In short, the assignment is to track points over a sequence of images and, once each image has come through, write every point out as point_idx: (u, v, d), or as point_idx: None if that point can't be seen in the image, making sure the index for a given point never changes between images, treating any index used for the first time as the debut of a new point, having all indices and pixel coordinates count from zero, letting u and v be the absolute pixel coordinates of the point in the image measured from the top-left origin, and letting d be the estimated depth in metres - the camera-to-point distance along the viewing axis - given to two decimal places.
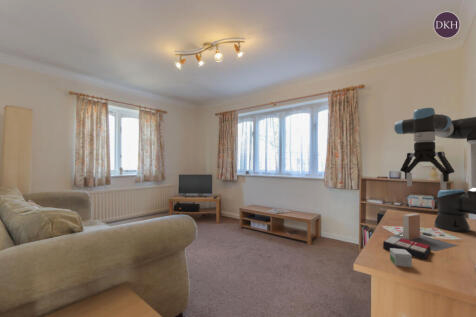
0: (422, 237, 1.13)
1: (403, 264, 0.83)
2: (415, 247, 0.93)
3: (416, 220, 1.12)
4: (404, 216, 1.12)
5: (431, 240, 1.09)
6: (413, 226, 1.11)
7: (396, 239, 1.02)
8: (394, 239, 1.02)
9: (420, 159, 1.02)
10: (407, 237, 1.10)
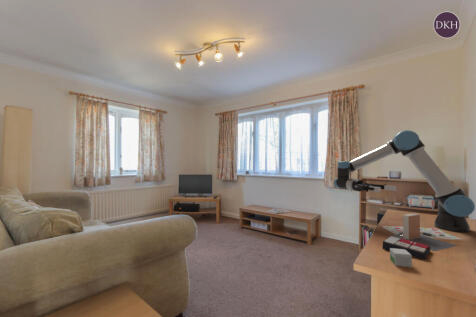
0: (422, 237, 1.13)
1: (403, 264, 0.83)
2: (414, 247, 0.93)
3: (416, 220, 1.12)
4: (404, 216, 1.12)
5: (431, 240, 1.09)
6: (413, 226, 1.11)
7: (395, 239, 1.02)
8: (393, 239, 1.02)
9: None
10: (407, 237, 1.10)
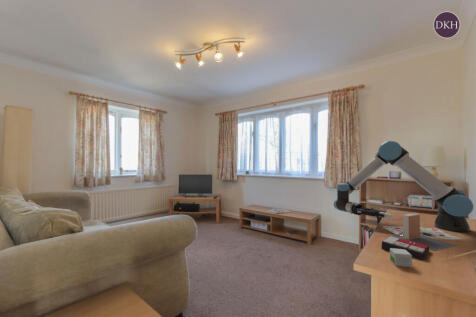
0: (422, 237, 1.13)
1: (403, 264, 0.83)
2: (413, 247, 0.93)
3: (416, 220, 1.12)
4: (404, 216, 1.12)
5: (431, 240, 1.09)
6: (413, 226, 1.11)
7: (395, 239, 1.02)
8: (393, 239, 1.02)
9: None
10: (407, 237, 1.10)
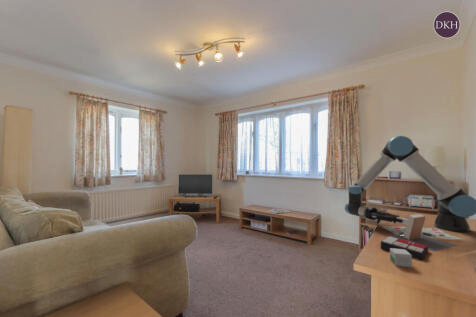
0: (422, 237, 1.13)
1: (403, 264, 0.83)
2: (412, 247, 0.93)
3: (421, 222, 1.10)
4: (409, 217, 1.09)
5: (431, 240, 1.09)
6: (416, 227, 1.10)
7: (394, 239, 1.02)
8: (392, 239, 1.02)
9: None
10: (407, 237, 1.10)
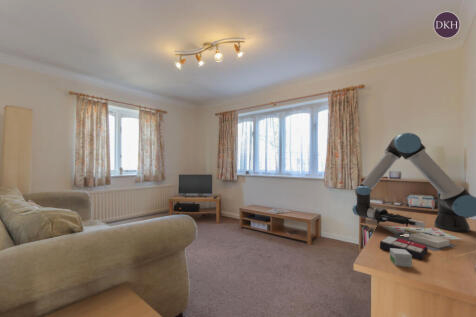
0: None
1: (403, 264, 0.83)
2: (412, 247, 0.93)
3: None
4: (436, 243, 0.99)
5: None
6: None
7: (393, 239, 1.02)
8: (391, 239, 1.02)
9: None
10: (411, 239, 1.09)
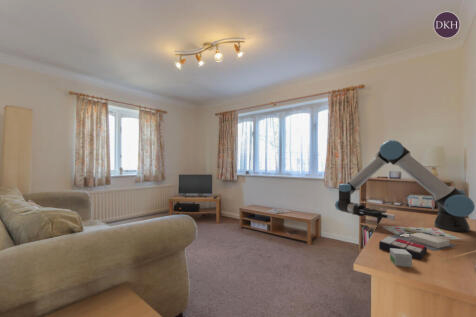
0: None
1: (403, 264, 0.83)
2: (411, 247, 0.93)
3: None
4: (436, 243, 0.99)
5: None
6: None
7: (392, 239, 1.02)
8: (390, 239, 1.02)
9: None
10: (411, 239, 1.09)
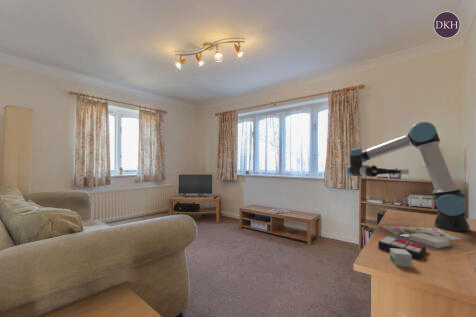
0: None
1: (403, 264, 0.83)
2: (410, 247, 0.93)
3: None
4: (436, 243, 0.99)
5: None
6: None
7: (392, 239, 1.02)
8: (390, 239, 1.02)
9: None
10: (411, 239, 1.09)
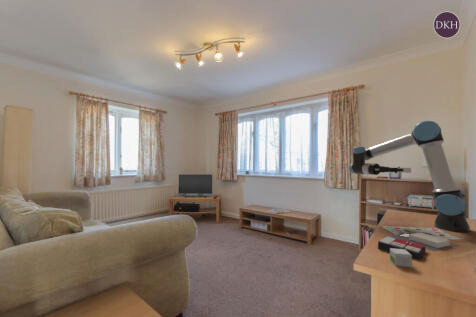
0: None
1: (403, 264, 0.83)
2: (409, 247, 0.93)
3: None
4: (436, 243, 0.99)
5: None
6: None
7: (391, 239, 1.02)
8: (389, 239, 1.02)
9: None
10: (411, 239, 1.09)
